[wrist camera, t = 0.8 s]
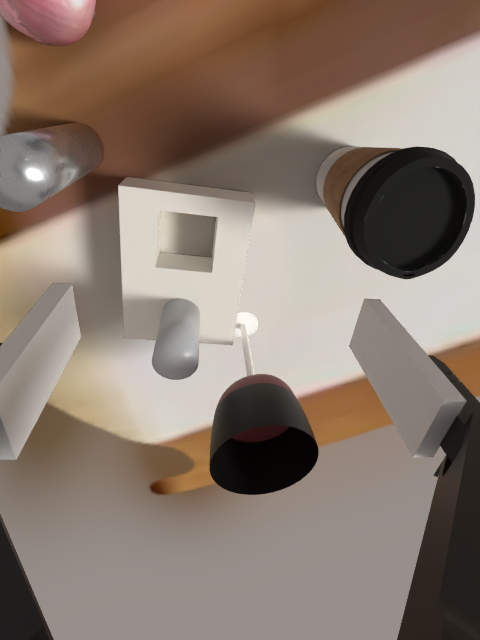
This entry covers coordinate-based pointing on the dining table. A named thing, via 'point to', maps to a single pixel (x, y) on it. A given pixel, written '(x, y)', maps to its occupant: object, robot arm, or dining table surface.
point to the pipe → (45, 162)
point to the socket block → (181, 271)
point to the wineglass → (259, 430)
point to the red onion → (50, 19)
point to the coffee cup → (398, 205)
